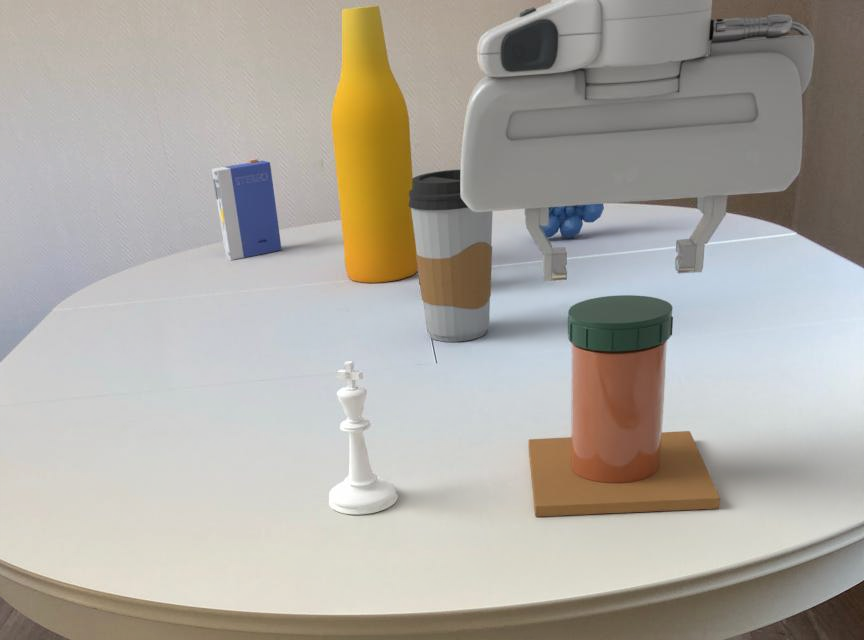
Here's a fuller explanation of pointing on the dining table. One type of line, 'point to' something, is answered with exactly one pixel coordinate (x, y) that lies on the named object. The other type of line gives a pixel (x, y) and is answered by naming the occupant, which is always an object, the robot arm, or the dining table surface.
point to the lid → (620, 323)
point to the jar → (617, 413)
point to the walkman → (247, 209)
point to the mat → (663, 491)
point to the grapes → (571, 219)
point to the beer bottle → (372, 155)
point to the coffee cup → (451, 257)
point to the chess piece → (358, 456)
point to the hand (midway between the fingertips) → (621, 275)
